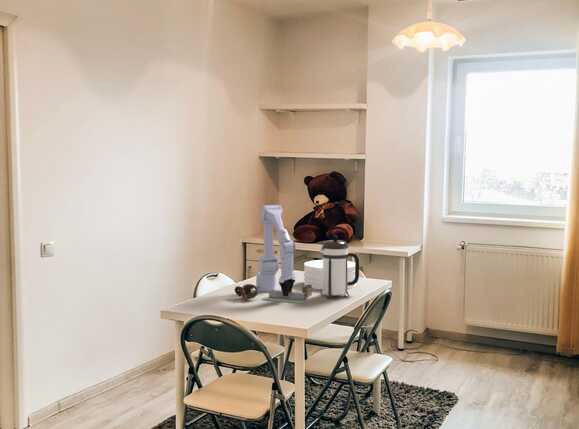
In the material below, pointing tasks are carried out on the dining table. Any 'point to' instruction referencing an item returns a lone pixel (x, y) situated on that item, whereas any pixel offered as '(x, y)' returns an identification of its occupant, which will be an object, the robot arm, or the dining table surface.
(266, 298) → the mat
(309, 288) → the bracket right
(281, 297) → the rail
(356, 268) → the coffee press
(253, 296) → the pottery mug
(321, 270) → the plate stack
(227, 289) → the dining table surface
